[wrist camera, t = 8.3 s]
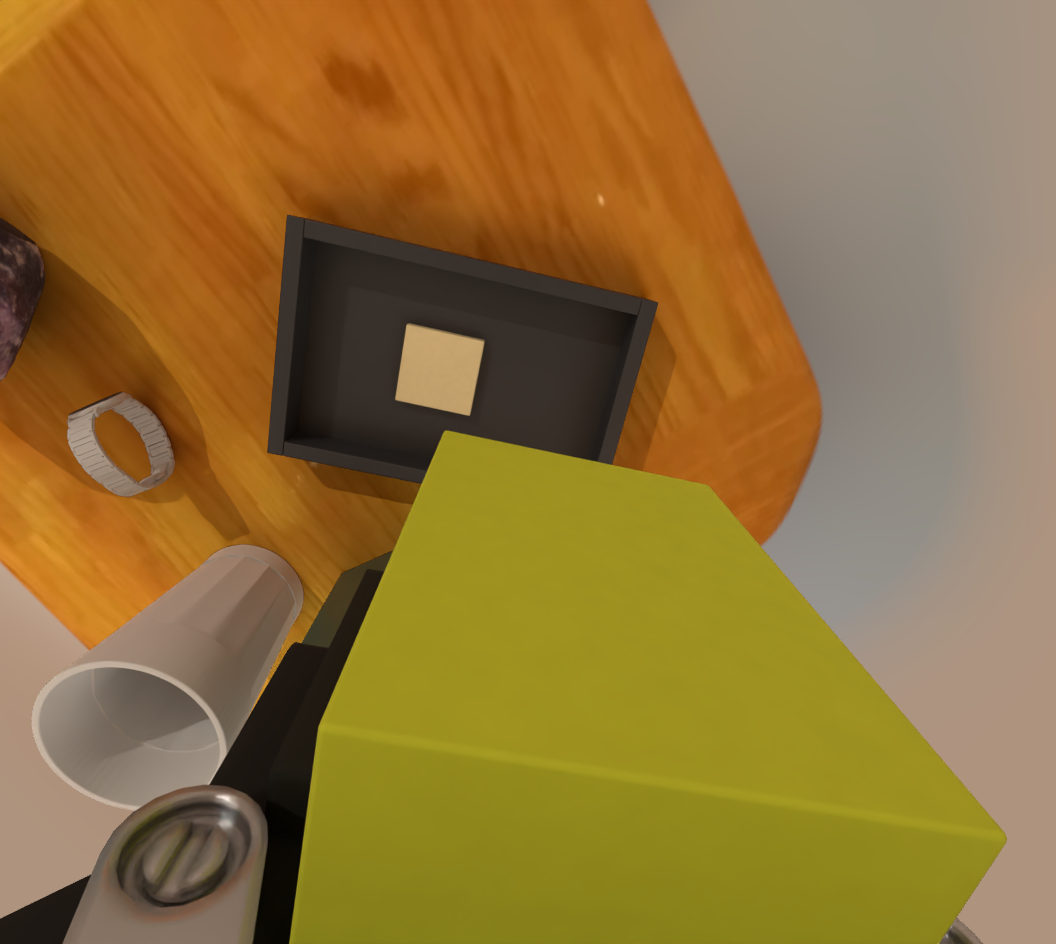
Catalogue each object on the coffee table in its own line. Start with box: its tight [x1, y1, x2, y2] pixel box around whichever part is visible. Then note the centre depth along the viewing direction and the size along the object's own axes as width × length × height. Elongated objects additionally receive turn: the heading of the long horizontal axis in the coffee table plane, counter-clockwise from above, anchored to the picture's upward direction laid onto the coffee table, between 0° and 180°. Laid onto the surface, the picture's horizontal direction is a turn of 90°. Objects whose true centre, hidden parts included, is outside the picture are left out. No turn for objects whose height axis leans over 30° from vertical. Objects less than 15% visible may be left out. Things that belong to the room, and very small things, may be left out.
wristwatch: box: [67, 392, 175, 497], centre depth 31 cm, size 3×5×5 cm, turn 21°
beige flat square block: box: [395, 323, 485, 416], centre depth 31 cm, size 4×4×1 cm
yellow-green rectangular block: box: [289, 431, 1007, 944], centre depth 8 cm, size 4×7×6 cm, turn 167°
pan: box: [267, 215, 658, 484], centre depth 31 cm, size 18×12×3 cm, turn 77°
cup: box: [32, 545, 303, 811], centre depth 31 cm, size 8×8×12 cm
